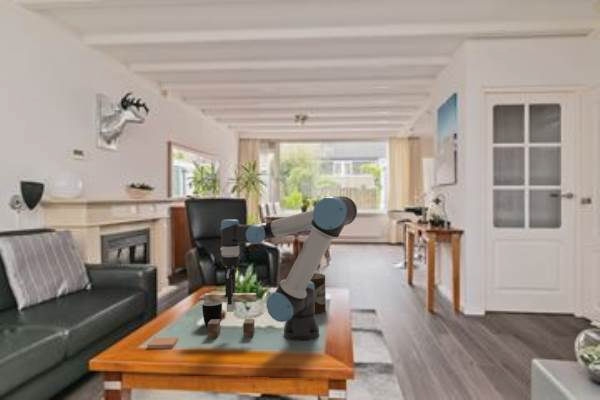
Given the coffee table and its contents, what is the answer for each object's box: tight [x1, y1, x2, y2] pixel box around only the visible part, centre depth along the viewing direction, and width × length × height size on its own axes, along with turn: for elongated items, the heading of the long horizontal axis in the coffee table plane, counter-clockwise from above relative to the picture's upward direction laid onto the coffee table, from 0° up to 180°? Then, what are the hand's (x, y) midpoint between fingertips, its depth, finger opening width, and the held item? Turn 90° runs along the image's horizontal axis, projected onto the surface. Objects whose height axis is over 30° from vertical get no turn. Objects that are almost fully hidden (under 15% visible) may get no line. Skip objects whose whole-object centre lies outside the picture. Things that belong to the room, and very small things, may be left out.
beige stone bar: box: [198, 292, 258, 303], centre depth 173 cm, size 24×5×3 cm, turn 90°
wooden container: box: [310, 272, 327, 316], centre depth 208 cm, size 15×15×22 cm
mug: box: [201, 301, 223, 327], centre depth 189 cm, size 12×9×10 cm
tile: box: [146, 336, 179, 349], centre depth 163 cm, size 2×8×10 cm
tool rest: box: [207, 318, 256, 339], centre depth 173 cm, size 19×6×6 cm, turn 90°
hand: (230, 310), depth 173 cm, fingers closed on beige stone bar, 3 cm apart
